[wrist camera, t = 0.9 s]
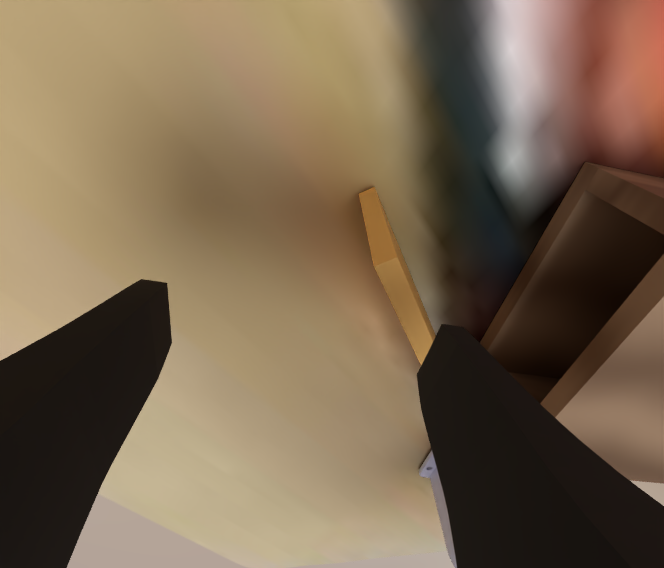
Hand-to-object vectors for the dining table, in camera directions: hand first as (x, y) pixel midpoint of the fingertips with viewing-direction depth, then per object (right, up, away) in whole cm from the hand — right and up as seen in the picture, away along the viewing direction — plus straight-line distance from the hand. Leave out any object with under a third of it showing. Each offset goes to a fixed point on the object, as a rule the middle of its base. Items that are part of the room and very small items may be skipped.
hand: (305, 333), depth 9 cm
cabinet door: (+6, 0, +11) cm, 12 cm away
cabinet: (+16, +1, +11) cm, 20 cm away
